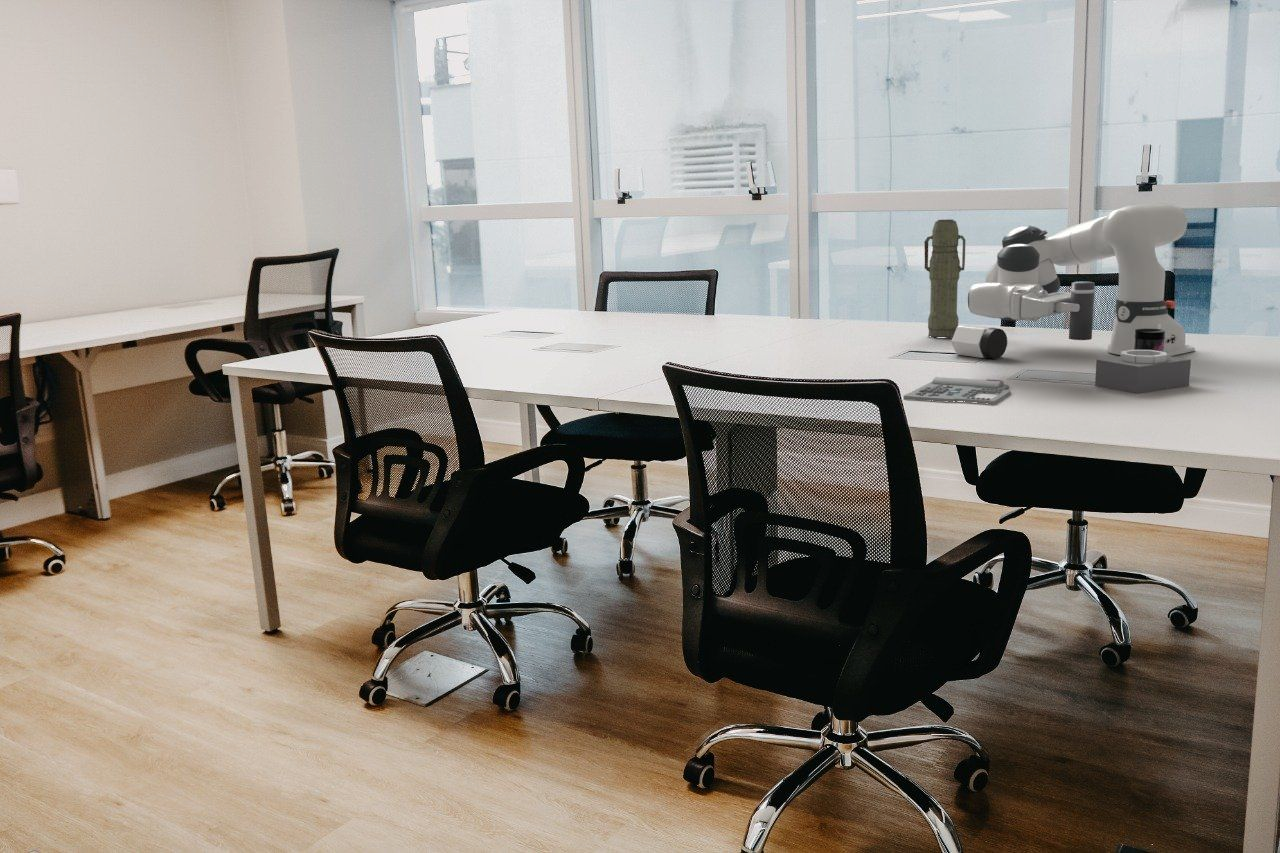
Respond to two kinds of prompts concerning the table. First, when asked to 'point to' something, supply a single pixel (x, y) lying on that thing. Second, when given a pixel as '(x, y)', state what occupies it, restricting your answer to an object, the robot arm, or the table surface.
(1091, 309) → the lens
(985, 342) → the jar
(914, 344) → the table surface
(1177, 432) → the table surface
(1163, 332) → the supplement container
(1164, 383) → the camera body
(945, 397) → the office telephone
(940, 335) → the thermos
